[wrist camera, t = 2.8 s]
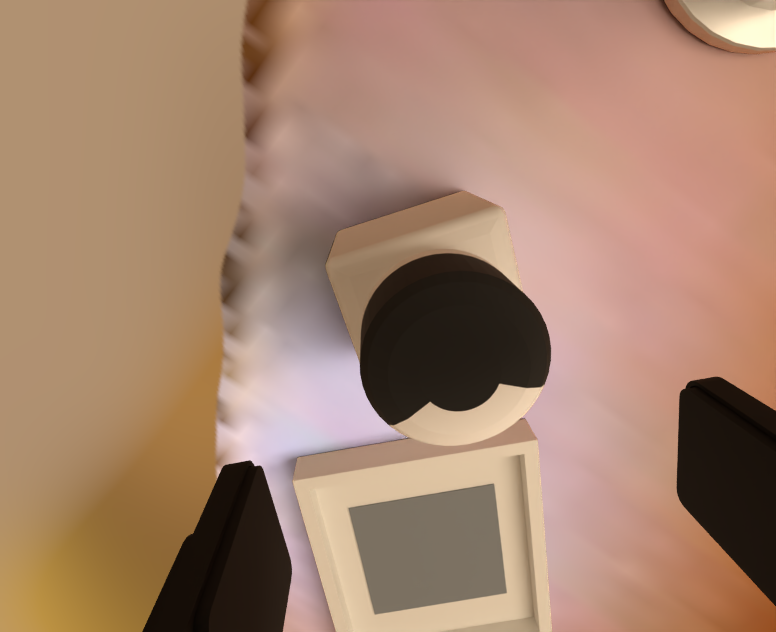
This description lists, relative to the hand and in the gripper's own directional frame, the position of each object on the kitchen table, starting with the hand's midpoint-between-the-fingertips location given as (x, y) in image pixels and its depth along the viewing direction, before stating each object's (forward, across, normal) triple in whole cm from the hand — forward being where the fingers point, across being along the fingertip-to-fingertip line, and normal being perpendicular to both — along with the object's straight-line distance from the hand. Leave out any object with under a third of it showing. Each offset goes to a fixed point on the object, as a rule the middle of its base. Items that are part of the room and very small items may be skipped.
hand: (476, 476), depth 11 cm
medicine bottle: (+16, -1, -1) cm, 16 cm away
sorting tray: (+16, +1, +17) cm, 24 cm away
